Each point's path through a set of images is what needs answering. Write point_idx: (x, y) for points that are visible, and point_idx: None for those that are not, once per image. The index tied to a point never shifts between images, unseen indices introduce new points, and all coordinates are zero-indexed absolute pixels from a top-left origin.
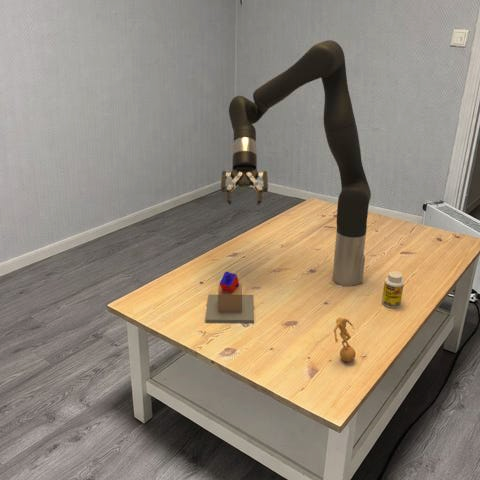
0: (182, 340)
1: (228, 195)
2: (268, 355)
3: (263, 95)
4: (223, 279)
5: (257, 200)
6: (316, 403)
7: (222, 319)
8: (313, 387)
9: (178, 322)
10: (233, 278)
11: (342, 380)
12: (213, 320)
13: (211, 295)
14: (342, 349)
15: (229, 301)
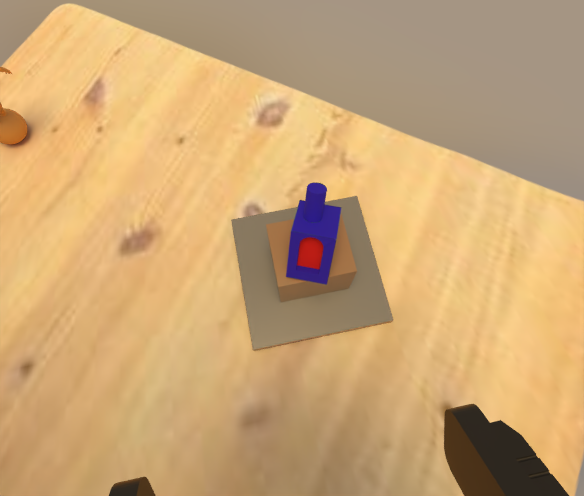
0: (382, 128)
1: (533, 485)
2: (185, 119)
3: None
4: (332, 216)
5: (137, 490)
6: (95, 27)
7: None
8: (97, 58)
9: (421, 187)
10: (297, 218)
11: (39, 82)
12: (335, 200)
13: (381, 316)
14: (11, 117)
15: None
